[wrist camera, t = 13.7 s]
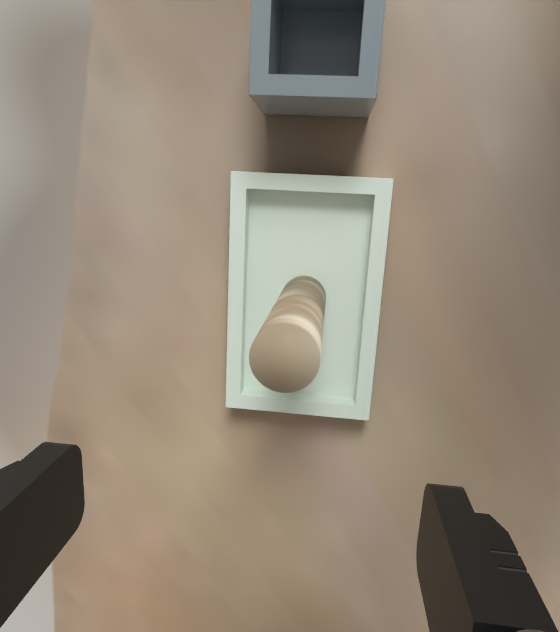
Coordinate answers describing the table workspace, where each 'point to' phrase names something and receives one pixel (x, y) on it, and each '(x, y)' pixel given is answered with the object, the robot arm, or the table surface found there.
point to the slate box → (315, 56)
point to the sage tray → (315, 261)
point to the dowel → (291, 338)
